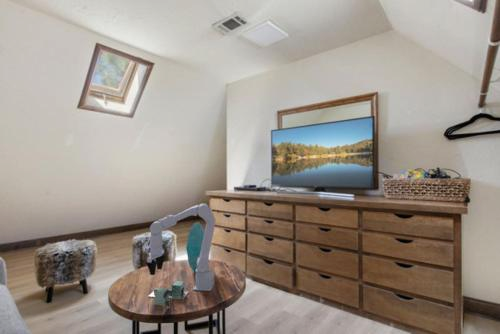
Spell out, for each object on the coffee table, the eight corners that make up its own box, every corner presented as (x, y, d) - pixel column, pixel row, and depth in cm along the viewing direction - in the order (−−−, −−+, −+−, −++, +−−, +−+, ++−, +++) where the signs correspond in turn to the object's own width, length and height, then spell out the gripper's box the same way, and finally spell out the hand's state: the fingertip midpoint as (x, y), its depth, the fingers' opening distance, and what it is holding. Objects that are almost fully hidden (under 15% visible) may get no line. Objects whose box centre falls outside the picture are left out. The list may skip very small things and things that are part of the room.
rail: (188, 292, 132) (188, 280, 132) (183, 299, 125) (183, 286, 125) (154, 290, 134) (155, 279, 134) (148, 297, 127) (148, 284, 127)
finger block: (168, 300, 125) (168, 288, 125) (164, 305, 120) (164, 293, 120) (159, 299, 125) (159, 288, 125) (154, 304, 120) (154, 292, 120)
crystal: (207, 275, 154) (207, 224, 154) (184, 275, 154) (184, 224, 155) (210, 268, 166) (211, 220, 167) (189, 267, 166) (189, 220, 167)
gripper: (155, 241, 142) (155, 266, 141) (141, 249, 127) (141, 277, 127) (168, 241, 141) (167, 266, 141) (155, 249, 126) (154, 277, 126)
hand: (156, 271), depth 134 cm, fingers open, 7 cm apart
